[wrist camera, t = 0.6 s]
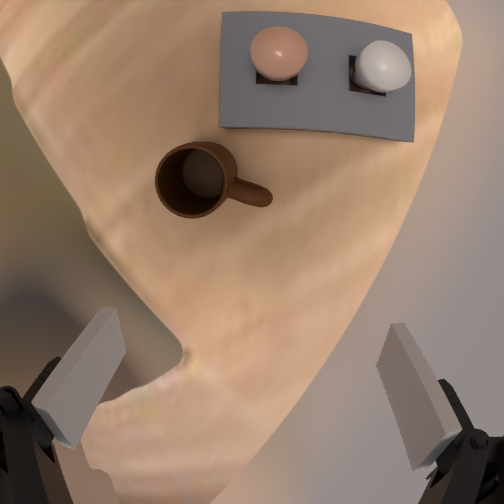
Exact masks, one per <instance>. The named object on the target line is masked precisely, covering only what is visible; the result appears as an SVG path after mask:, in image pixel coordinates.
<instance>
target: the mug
mask: <svg viewBox="0 0 504 504" xmlns="http://www.w3.org/2000/svg"><path fill="white" fill-rule="evenodd" d="M155 186H156V191H157V194H158V197H159V198H160V200H161V202H162V203H163V205H164V206H165V207H166V208H167V209H168V210H169V211H171V212H172V213H174V214H176V215H178V216H181V217H184V218H200V217H204V216H206V215H208V214H210V213H212V212H213V211H215V210H216V209H217V208H218V207H219V206H221V204H222V203H223V202H224V201H225V200H226V198H231V199H234V200H237V201H239V202H242V203H245V204H248V205H252V206H256V207H266V206H268V205H270V204H271V202H272V200H273V196H272V194H271V192H270V191H269V190H268V189H266V188H264V187H262V186H260V185H257V184H254V183H251V182H248V181H244V180H242V179H239V178H237V165H236V162H235V159H234V157H233V156H232V154H231V153H230V152H229V151H228V150H227V149H226V148H224V147H223V146H221V145H219V144H216V143H212V142H194V143H187V144H184V145H181V146H179V147H176V148H174V149H172V150H171V151H170V152H168V153H167V154H166V155H165V156H164V157H163V159H162V160H161V162H160V163H159V165H158V168H157V171H156V176H155Z"/></svg>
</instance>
